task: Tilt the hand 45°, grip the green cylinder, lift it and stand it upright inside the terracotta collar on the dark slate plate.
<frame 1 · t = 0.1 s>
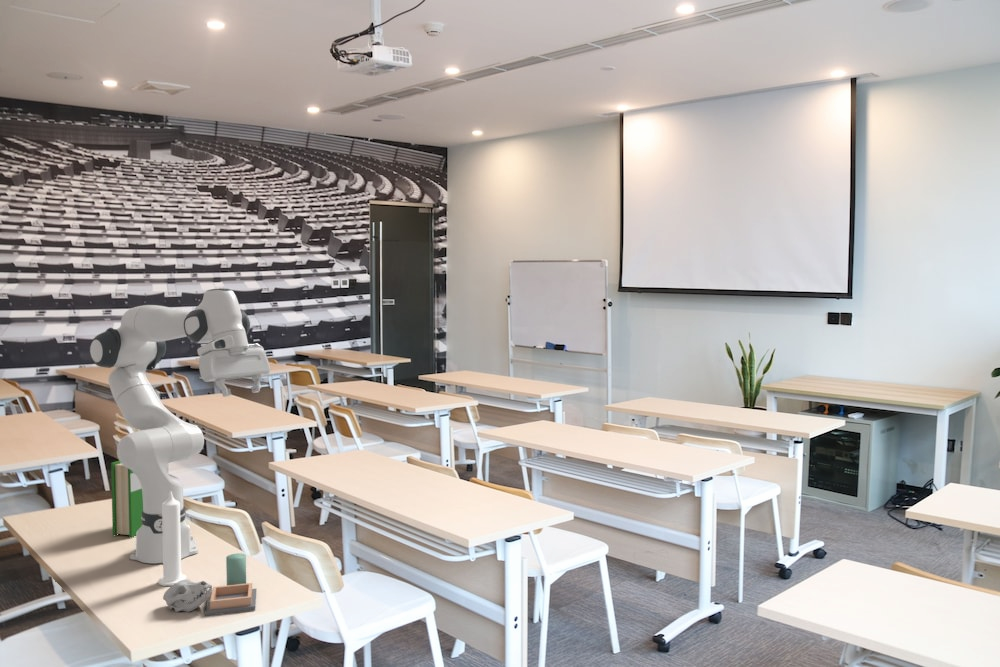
hand: (242, 394, 201), 52 cm above the table, tool tilted 20°, fingers open, 8 cm apart
hardback book: (142, 529, 250), on the table
green cylinder: (236, 585, 202), on the table
candle: (172, 581, 205), on the table
skull: (187, 609, 187), on the table
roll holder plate: (231, 603, 190), on the table
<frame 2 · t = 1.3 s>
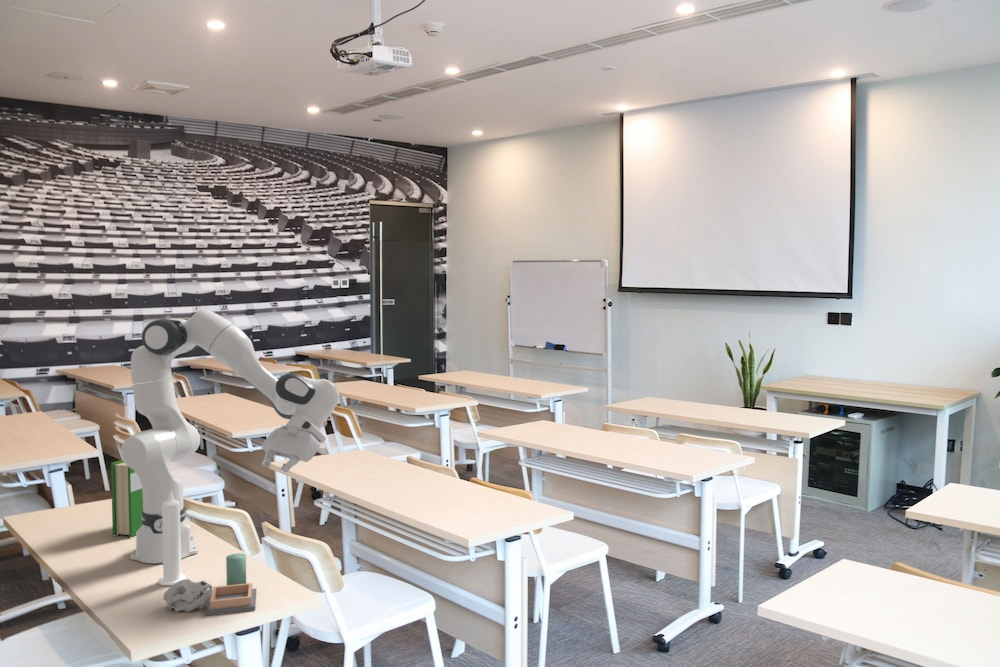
hand: (273, 468, 210), 30 cm above the table, tool tilted 45°, fingers open, 8 cm apart
nothing on the table moved.
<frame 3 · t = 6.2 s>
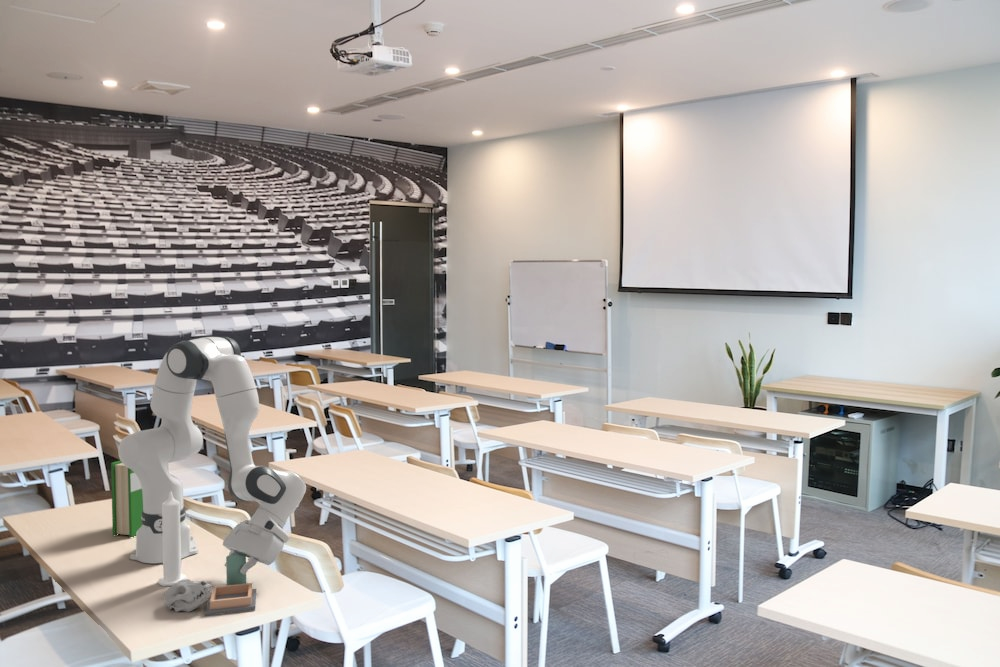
hand: (234, 570, 201), 4 cm above the table, tool tilted 45°, fingers closed on green cylinder, 5 cm apart
green cylinder: (236, 585, 202), on the table, touching gripper
everything else where it was.
when the fingers open (7 cm above the table, at t = 13.2 s): green cylinder drops 1 cm, resting on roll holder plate.
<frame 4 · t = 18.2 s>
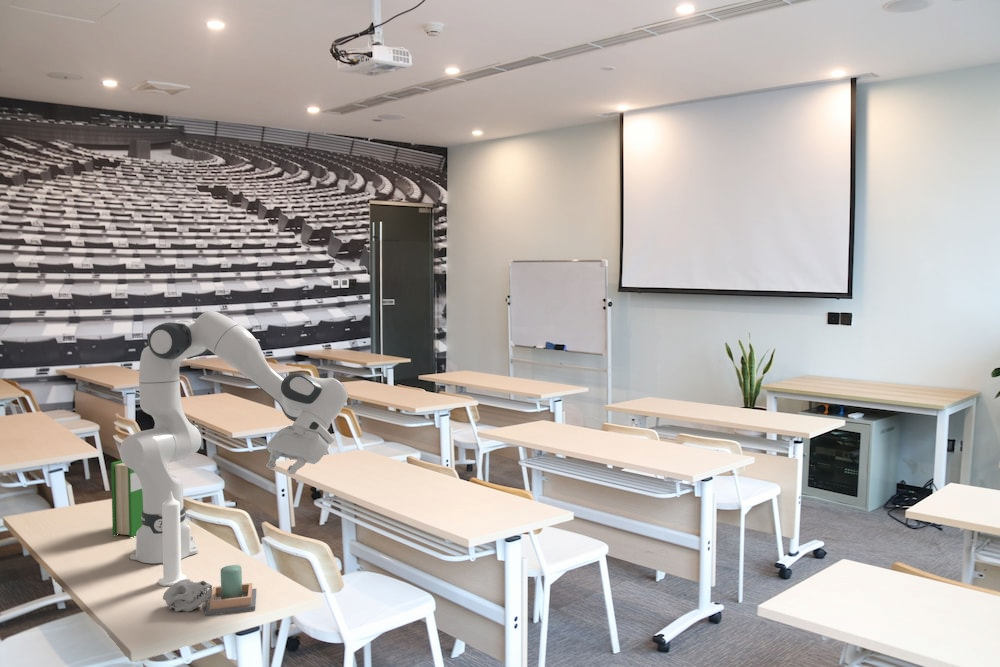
hand: (279, 470, 201), 31 cm above the table, tool tilted 45°, fingers open, 8 cm apart
green cylinder: (231, 599, 190), point 1 cm above the table, touching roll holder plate
everything else where it was.
at the end: green cylinder 0.1 cm off-centre on the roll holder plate, point 1.0 cm above the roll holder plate's base; green cylinder tilted 1°; the gripper is holding nothing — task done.
